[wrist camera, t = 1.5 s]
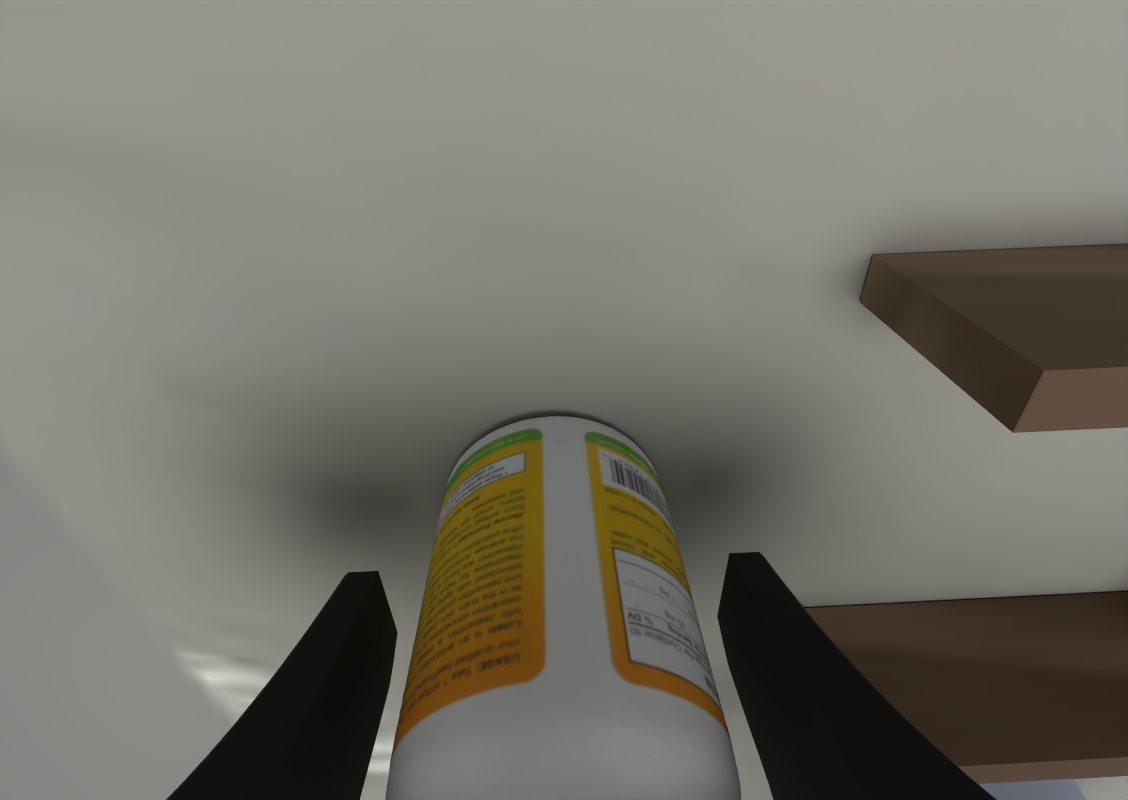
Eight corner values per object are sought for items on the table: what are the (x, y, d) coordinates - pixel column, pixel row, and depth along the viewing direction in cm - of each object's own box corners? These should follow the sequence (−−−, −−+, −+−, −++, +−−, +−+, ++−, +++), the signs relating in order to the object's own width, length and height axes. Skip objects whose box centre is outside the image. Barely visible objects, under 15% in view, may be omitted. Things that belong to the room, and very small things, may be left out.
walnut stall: (1146, 610, 18) (1308, 765, 14) (769, 630, 18) (831, 792, 14) (1470, 229, 11) (1934, 330, 8) (872, 254, 11) (1044, 370, 7)
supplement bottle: (447, 565, 16) (347, 1151, 7) (443, 401, 13) (273, 1071, 5) (640, 571, 16) (745, 1131, 8) (680, 415, 13) (911, 1047, 5)
